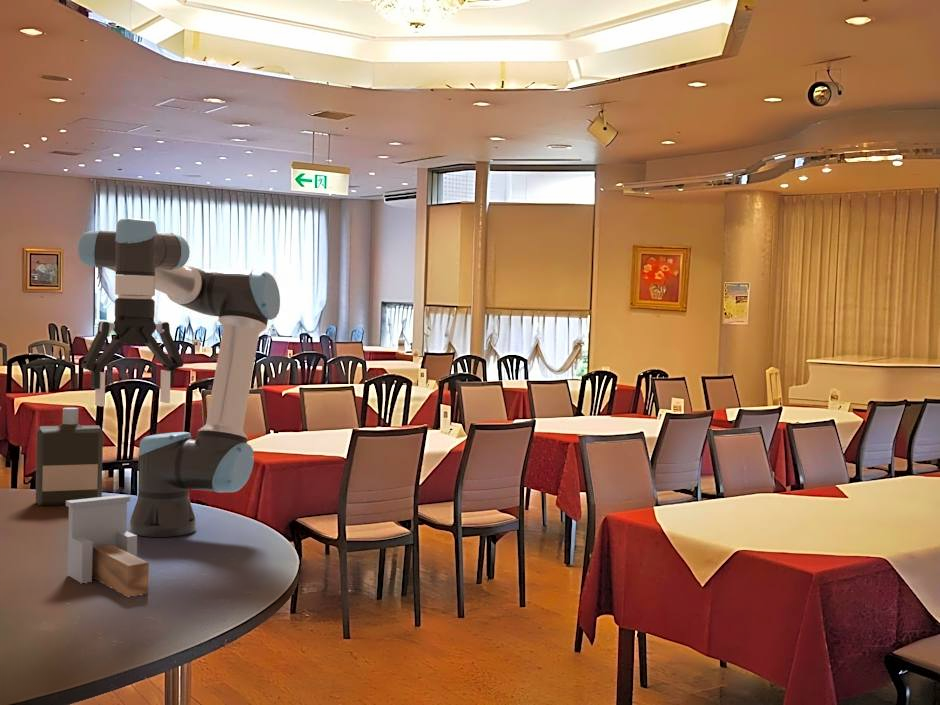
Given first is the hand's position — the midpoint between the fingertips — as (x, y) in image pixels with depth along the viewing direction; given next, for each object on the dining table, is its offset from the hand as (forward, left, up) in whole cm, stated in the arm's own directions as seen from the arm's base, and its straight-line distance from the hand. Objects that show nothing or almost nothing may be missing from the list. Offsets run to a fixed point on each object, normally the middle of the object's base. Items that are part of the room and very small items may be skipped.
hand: (133, 404), depth 202 cm
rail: (+5, +7, -34) cm, 35 cm away
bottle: (-16, -72, -34) cm, 82 cm away
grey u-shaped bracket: (+5, -1, -34) cm, 35 cm away
